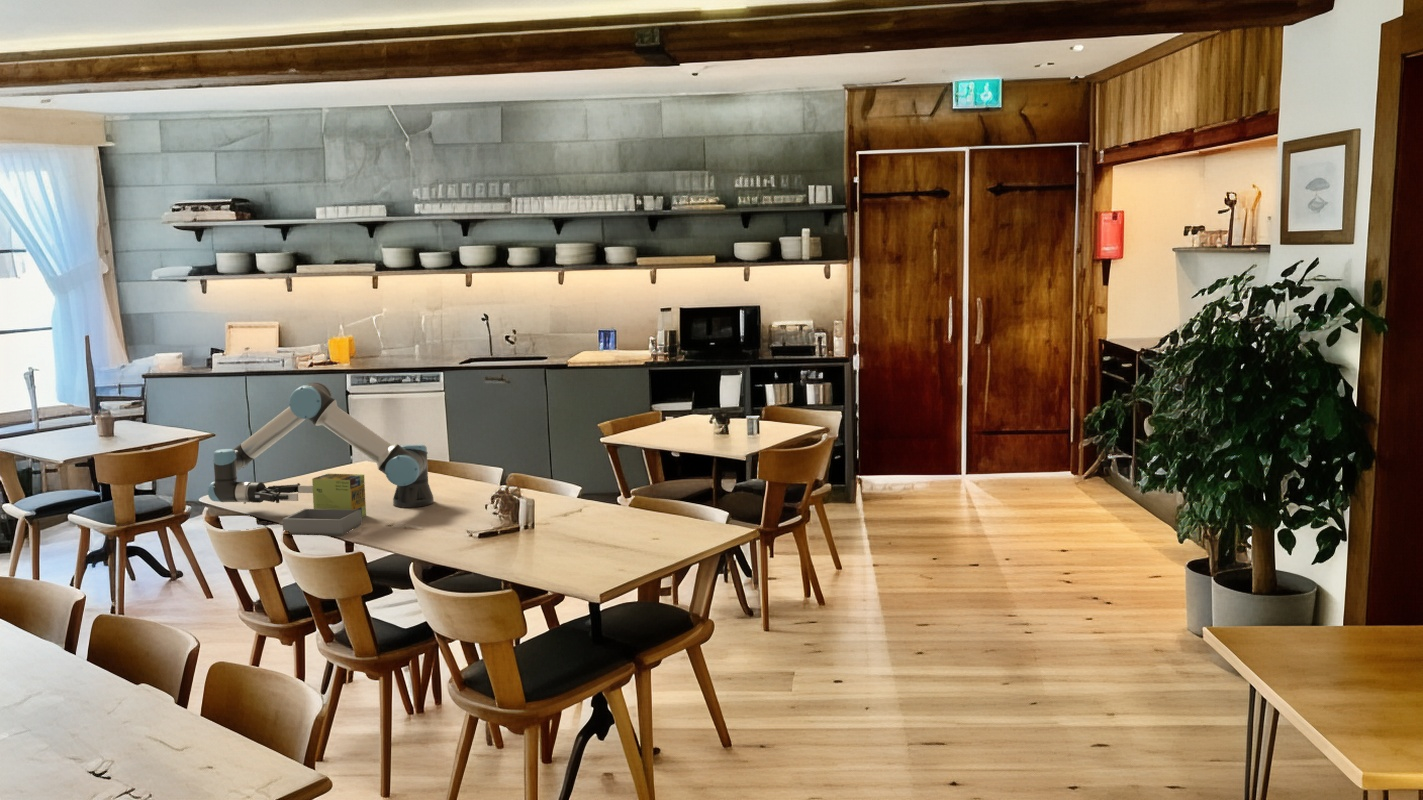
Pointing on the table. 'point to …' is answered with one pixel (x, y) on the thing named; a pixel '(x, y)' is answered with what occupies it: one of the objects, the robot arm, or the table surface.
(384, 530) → the table surface
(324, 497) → the protein box
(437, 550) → the table surface
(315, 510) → the tray
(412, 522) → the table surface
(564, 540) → the table surface
